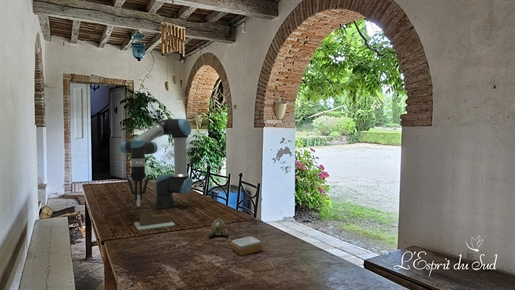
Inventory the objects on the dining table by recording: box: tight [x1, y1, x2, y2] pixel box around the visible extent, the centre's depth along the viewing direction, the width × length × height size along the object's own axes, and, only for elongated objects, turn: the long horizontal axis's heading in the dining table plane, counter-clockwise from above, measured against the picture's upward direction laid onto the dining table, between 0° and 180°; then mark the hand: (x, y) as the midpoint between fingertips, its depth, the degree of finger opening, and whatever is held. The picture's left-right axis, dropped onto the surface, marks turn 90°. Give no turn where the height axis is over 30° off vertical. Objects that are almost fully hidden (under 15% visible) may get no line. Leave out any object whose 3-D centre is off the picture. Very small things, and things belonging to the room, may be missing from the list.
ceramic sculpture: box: [207, 217, 229, 237], centre depth 178 cm, size 11×9×15 cm
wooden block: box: [138, 208, 172, 226], centre depth 195 cm, size 9×4×18 cm
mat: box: [133, 220, 176, 231], centre depth 195 cm, size 21×15×1 cm
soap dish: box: [229, 236, 264, 256], centre depth 154 cm, size 12×10×5 cm
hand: (138, 205), depth 190 cm, fingers closed
